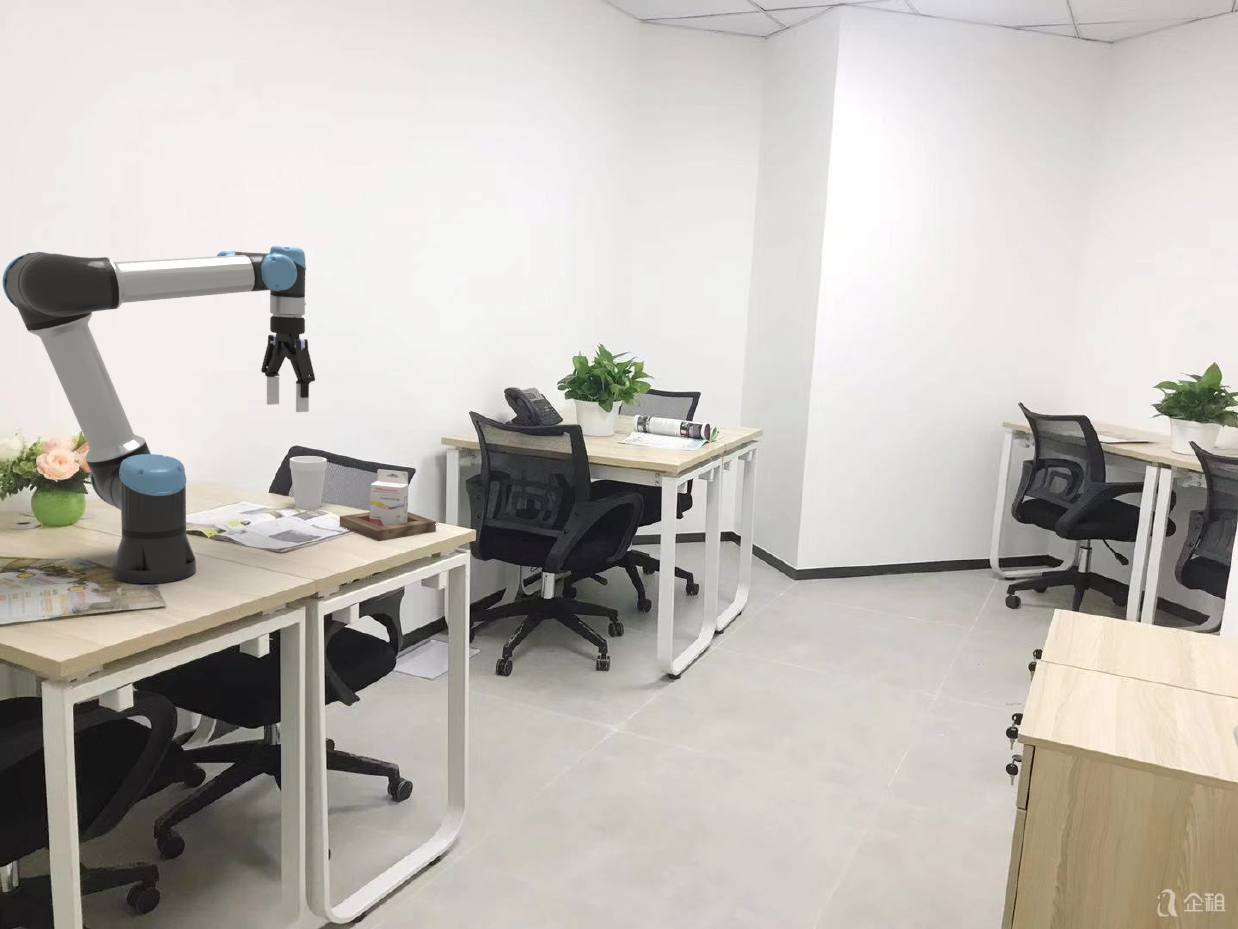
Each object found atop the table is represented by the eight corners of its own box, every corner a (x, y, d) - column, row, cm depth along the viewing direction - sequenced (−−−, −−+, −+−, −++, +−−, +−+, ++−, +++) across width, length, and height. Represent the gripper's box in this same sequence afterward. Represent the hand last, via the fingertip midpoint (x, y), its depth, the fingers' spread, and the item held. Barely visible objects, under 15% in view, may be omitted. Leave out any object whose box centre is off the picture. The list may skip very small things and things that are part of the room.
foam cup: (288, 503, 256) (288, 456, 253) (323, 501, 260) (323, 455, 257) (291, 511, 247) (292, 462, 245) (328, 509, 251) (328, 462, 249)
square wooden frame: (377, 541, 224) (378, 530, 224) (339, 526, 236) (339, 516, 235) (435, 531, 237) (436, 521, 236) (396, 517, 248) (397, 508, 248)
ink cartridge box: (368, 529, 234) (369, 472, 231) (375, 525, 239) (376, 468, 236) (401, 532, 233) (403, 475, 231) (407, 528, 238) (409, 471, 236)
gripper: (331, 319, 209) (330, 414, 213) (276, 312, 225) (276, 400, 229) (300, 318, 204) (299, 415, 207) (246, 311, 220) (246, 401, 224)
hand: (287, 408), depth 218 cm, fingers open, 13 cm apart
